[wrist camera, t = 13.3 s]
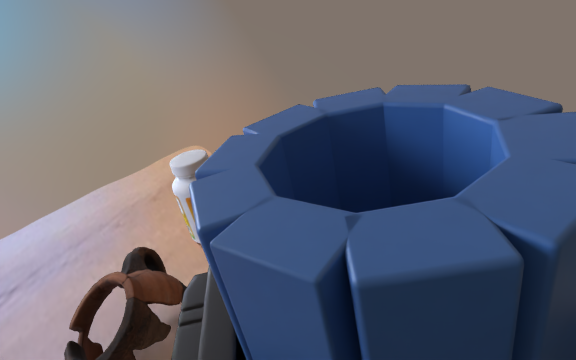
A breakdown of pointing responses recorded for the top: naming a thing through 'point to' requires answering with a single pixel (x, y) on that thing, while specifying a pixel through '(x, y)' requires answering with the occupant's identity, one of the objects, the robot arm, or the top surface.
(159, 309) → the top surface
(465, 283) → the fluted pencil holder
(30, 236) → the top surface
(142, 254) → the brown curved piece
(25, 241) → the top surface
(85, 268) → the top surface
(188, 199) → the supplement bottle
